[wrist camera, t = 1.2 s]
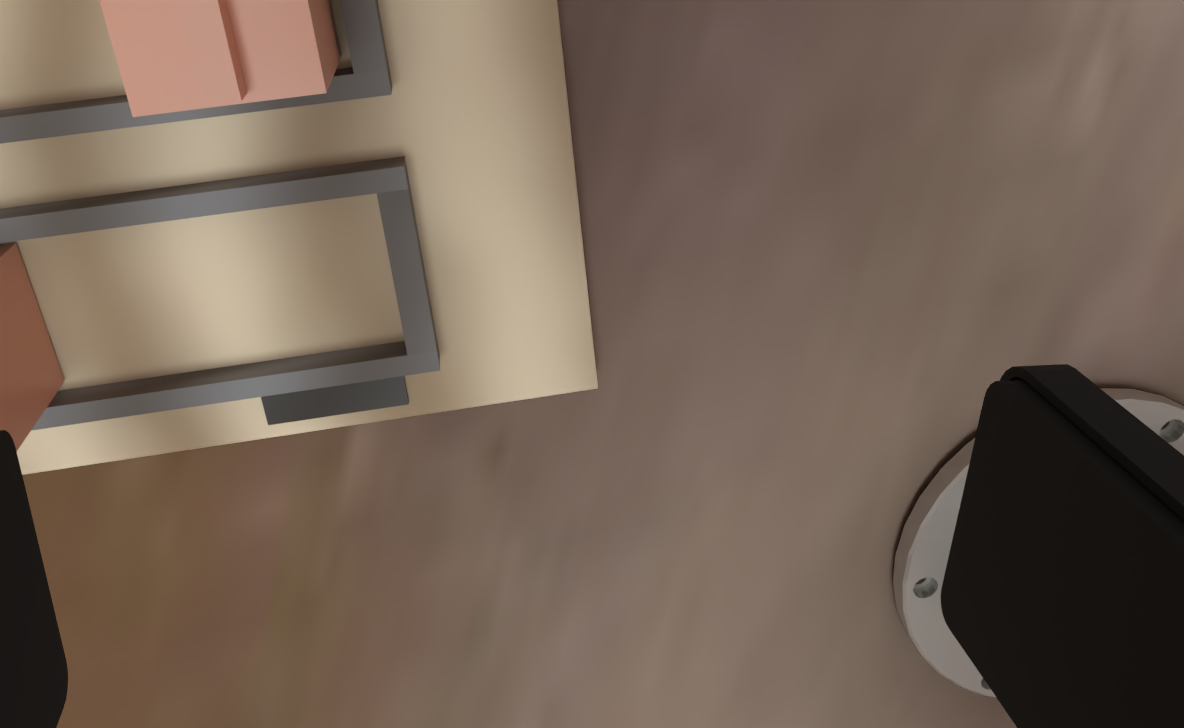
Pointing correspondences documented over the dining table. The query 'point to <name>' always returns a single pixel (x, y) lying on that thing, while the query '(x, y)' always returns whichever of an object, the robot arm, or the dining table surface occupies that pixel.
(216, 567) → the dining table surface
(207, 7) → the pink block
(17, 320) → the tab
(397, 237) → the switch board
